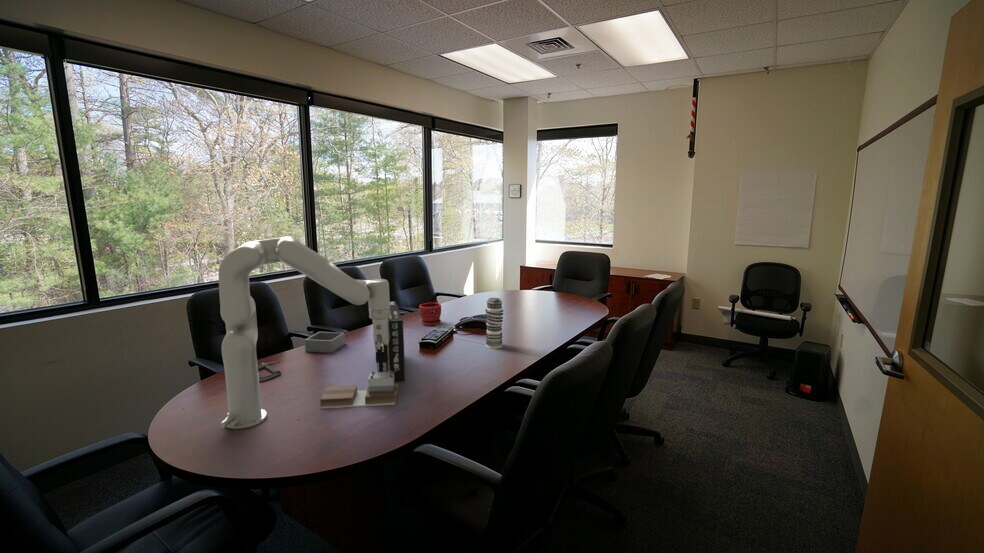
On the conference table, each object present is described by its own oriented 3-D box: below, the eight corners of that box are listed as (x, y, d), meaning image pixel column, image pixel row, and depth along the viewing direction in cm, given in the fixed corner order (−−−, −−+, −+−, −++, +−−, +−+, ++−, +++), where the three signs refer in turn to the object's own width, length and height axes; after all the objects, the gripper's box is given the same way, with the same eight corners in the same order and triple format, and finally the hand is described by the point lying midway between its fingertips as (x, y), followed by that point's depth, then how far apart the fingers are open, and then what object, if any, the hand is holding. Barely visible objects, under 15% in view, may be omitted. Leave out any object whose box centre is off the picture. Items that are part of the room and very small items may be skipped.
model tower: (497, 349, 223) (497, 301, 219) (481, 346, 227) (482, 299, 223) (506, 345, 230) (506, 298, 226) (491, 342, 235) (491, 296, 231)
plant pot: (433, 319, 279) (433, 301, 277) (445, 324, 269) (445, 304, 267) (415, 323, 271) (415, 304, 269) (427, 327, 261) (426, 308, 259)
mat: (397, 389, 174) (397, 388, 174) (395, 404, 162) (395, 403, 162) (328, 393, 171) (328, 392, 171) (320, 408, 158) (320, 407, 158)
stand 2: (396, 402, 163) (395, 395, 162) (365, 404, 161) (365, 397, 161) (398, 389, 173) (397, 383, 173) (369, 391, 172) (368, 385, 171)
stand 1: (352, 404, 160) (352, 397, 160) (320, 406, 159) (320, 399, 158) (357, 391, 171) (356, 385, 171) (327, 393, 170) (327, 387, 169)
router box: (374, 355, 213) (372, 301, 208) (397, 353, 216) (396, 300, 212) (378, 384, 179) (376, 320, 175) (406, 381, 182) (404, 318, 178)
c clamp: (237, 371, 193) (236, 365, 192) (279, 362, 204) (279, 357, 203) (249, 386, 178) (248, 380, 177) (294, 375, 189) (293, 369, 188)
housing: (393, 392, 164) (393, 376, 163) (368, 394, 163) (368, 377, 162) (394, 386, 170) (394, 370, 169) (370, 387, 169) (370, 371, 168)
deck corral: (332, 352, 216) (331, 341, 215) (305, 351, 218) (304, 339, 217) (345, 343, 230) (344, 332, 229) (319, 342, 231) (319, 331, 230)
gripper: (388, 318, 154) (390, 365, 157) (392, 306, 171) (393, 349, 174) (366, 319, 153) (368, 366, 156) (372, 307, 170) (374, 350, 173)
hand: (382, 357), depth 165 cm, fingers open, 9 cm apart
